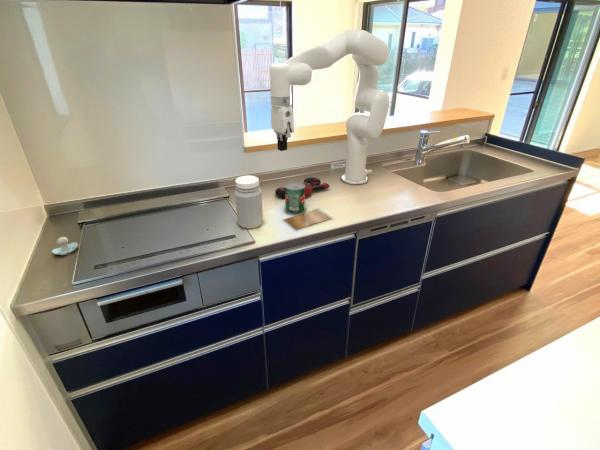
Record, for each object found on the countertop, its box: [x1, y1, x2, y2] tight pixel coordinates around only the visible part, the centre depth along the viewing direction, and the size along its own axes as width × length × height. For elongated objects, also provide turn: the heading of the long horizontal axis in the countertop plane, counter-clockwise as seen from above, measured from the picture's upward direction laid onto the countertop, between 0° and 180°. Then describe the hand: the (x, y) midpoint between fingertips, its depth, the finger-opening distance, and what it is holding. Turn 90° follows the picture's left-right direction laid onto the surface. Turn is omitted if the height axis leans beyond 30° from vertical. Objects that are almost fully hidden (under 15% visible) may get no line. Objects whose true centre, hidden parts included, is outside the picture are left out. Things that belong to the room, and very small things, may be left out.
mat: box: [283, 208, 332, 231], centre depth 134 cm, size 16×9×1 cm, turn 123°
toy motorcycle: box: [274, 176, 330, 200], centre depth 154 cm, size 25×5×16 cm
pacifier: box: [51, 236, 79, 256], centre depth 113 cm, size 7×6×6 cm
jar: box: [234, 174, 264, 230], centre depth 127 cm, size 10×10×18 cm
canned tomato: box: [284, 181, 306, 216], centre depth 138 cm, size 8×8×11 cm
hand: (282, 149), depth 136 cm, fingers closed
